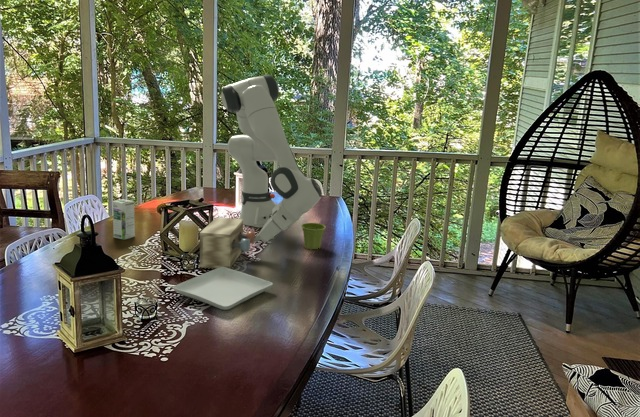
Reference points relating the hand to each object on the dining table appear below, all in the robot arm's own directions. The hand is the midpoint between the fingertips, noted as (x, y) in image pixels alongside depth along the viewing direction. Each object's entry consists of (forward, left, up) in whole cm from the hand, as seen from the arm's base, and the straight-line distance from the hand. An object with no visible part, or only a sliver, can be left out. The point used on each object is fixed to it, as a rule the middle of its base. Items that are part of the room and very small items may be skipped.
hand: (255, 239), depth 174 cm
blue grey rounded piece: (+8, +6, -1) cm, 10 cm away
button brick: (+4, -2, -1) cm, 4 cm away
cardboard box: (+12, -1, -6) cm, 13 cm away
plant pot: (-24, -5, -6) cm, 25 cm away
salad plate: (+18, +29, -7) cm, 35 cm away
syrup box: (+43, -34, -6) cm, 55 cm away
